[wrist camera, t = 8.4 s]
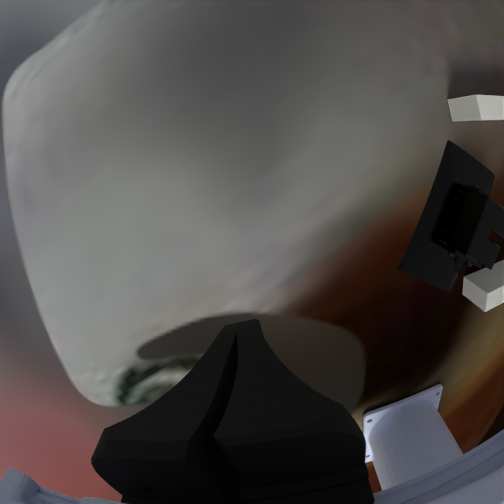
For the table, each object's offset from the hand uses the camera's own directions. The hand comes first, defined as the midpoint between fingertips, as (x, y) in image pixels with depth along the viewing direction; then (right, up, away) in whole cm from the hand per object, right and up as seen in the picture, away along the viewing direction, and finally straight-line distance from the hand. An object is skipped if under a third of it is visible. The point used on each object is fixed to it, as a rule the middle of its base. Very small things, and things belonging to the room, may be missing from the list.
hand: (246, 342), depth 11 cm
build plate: (+14, +6, +6) cm, 16 cm away
